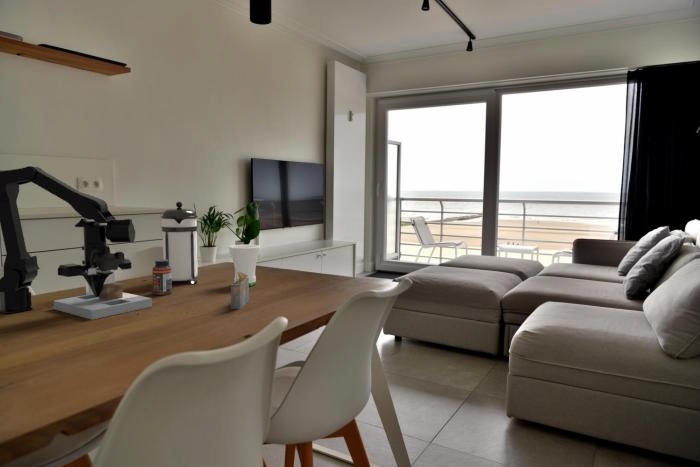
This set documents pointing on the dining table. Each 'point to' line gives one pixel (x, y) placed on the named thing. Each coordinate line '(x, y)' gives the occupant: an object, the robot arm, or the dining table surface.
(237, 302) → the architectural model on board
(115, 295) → the walnut block
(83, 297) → the trap deck
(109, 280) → the jar
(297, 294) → the dining table surface
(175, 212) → the coffee press
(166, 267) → the supplement bottle
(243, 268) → the cup
